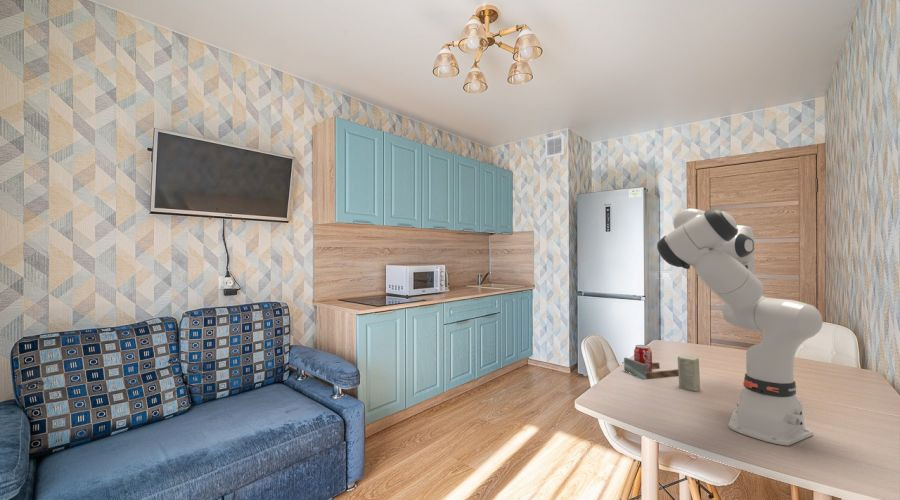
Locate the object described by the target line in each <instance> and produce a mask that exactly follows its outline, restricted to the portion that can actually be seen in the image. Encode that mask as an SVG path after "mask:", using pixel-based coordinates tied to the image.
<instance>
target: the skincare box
mask: <svg viewBox="0 0 900 500" xmlns="http://www.w3.org/2000/svg"><path fill="white" fill-rule="evenodd" d="M677 368H678V374H679V376H678V387H679V388H681V389H684V390H689V391H693V392H698V391H700V389H701V379H700V376H701V375H700V359H699V357H694V356H688V355H683V354H682V355H678V356H677Z"/></svg>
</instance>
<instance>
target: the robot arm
mask: <svg viewBox="0 0 900 500" xmlns="http://www.w3.org/2000/svg"><path fill="white" fill-rule="evenodd" d="M673 228H674V230H672V231H671V232H670V233H668V234H667V235H664V236H662V238H660V239H659V240H658V242H657V243H656V248H657V251H658V254H659V256H660V257H661V258H662V259H663V260H664V261H665V262H666V263H667V264H669V265H671V266H674V267H677V268H683V269H684V270H689V269H691V267H693V269H694V272H695V273H696V275H697V276H698V277H699V279H700V280H701V281H702V282H703V284H704V285H705V286H707V287H708V289H709V290H711V292H713V293H714V294H715V295H716V296H717V297H718V298H719V299H720V300H721V301H722V302H723V304H722V308H721V314H722V317H723V318H724V320H725V321H726V322H727V323H728V324H730V325H732V326H735V327H737V328H740V329H744V330H749V331H753V332H754V331H755V332H758V333H763V336H762V340H761V341H760V343H756V344H753V345H751V346H749V347H748V348H747V349H746V352H745V360H746V362H745V364H746V365H745V366H746V367H745V368H746V370H745V371H746V373H745V374H744V377H743V382H742V383H743V388H741V392H740V397H739V400H738V403H736V406H737V409H734V410H733V411H732V414H731V416H730V419H729V422H728V425H727V426H728V428H729V429H731V430H732V431H735V432H737V433H740V434H742V435H745V436H747V437H750V438H754V439H756V440H757V439H758V440H760V441H763V442H767V443H771V444H776V445H781V446H790V445H792V444H795V443H798V442H800V441H803V440H805V439H807V438H811V437H812V436H814V434H813V430H811V429H809V428H808V427H806V423H805V412H804V404H803V402H802V401H800V399H798V398H797V396H796V395H797V383H796V381H795V380H794V367H795V366H794V365H795V364H794V363H795V355H796V353H797V351H798V349H799V347H800V346H801V345H802V344H803V343H804V342H805V341H807V340H808V339H811V338H812V337H814V336H816V335H817V334H818V333H819V332H820V331H821V329H822V327H823V323H824V322H823V316H822V314H821V312H820V311H819V309H818V308H816V306H815V305H812V304H809V303H807V302H801V301H797V300H794V299H785V298H775V297H768V296H767V297H766V296H764V285H763V283H762V282H761V281H762V280H761V281H760V279H758V277H756V275H754V272H756V258H755V254H754V251H755V248H756V247H755V234H754V230H753V228H752V227H751V226H749V225H746V224H745V225H742V224H737V222H736V220H735V219H734V217H733V216H732V215H731V214H729V213H728V212H726V211H724V210H722V209H718V208H717V209H716V208H713V209H710V210H709V209H708V210H702V209H698V208H692V207H691V208H686V209H683V210H681V211H679V212H677V214H676V215H675V217H674V219H673Z"/></svg>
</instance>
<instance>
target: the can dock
mask: <svg viewBox="0 0 900 500" xmlns="http://www.w3.org/2000/svg"><path fill="white" fill-rule="evenodd" d="M623 366H624V367H623V369H624V370H625V371H624V370H623V371H624V372H626V371H627V372H626V373H628V372H630V373H632V374H631V375H633V374H634V376H635V375H636V376H635V377H637V376H638V377H637V378H640V379H643V380H652V379H660V378H671V377H672V378H673V377H679V374H678V369H669V370H668V369H667V370H657V369H660V362H652V370H655V371H652V372H646V365H645V364H642V363H640V362H637V361H634V359H632V358H628V357H624V358H623ZM656 370H657V371H656ZM630 373H629V374H630Z"/></svg>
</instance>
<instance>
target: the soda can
mask: <svg viewBox="0 0 900 500" xmlns="http://www.w3.org/2000/svg"><path fill="white" fill-rule="evenodd" d="M633 360H634V361H637V362H640V363H642V364H645V365H646V372H653V369H652V363H653V353H652V349H651V347H650V346H649V345H646V344H636V345H635V347H634V350H633Z"/></svg>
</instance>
